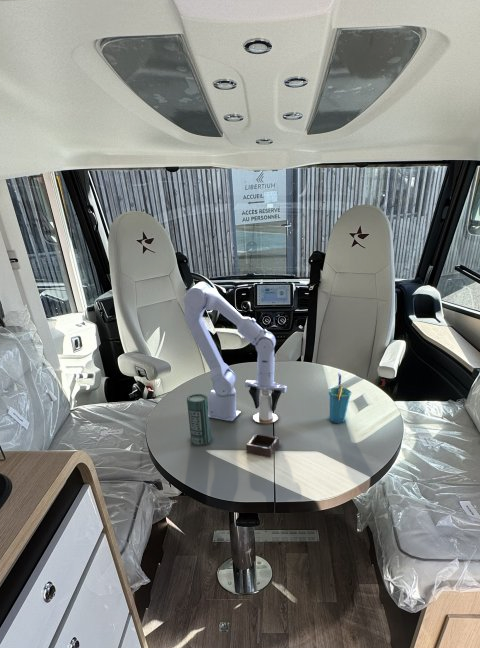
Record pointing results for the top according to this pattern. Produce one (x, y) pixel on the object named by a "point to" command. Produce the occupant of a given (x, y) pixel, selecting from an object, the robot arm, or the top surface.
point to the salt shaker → (265, 405)
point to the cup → (338, 402)
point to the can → (199, 419)
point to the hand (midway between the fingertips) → (265, 408)
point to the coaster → (256, 419)
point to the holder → (260, 450)
